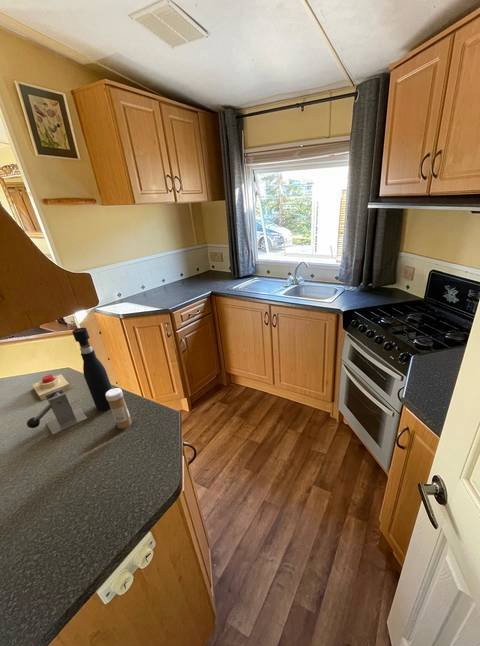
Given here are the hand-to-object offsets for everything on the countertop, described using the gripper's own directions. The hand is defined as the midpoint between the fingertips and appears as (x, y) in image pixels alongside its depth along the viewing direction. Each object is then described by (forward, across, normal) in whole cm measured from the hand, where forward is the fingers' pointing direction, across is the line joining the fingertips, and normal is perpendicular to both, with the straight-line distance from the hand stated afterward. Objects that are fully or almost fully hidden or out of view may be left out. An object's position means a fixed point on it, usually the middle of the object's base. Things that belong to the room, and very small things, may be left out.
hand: (8, 337), depth 106 cm
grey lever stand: (+23, +35, +4) cm, 42 cm away
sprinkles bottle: (+23, +51, +17) cm, 59 cm away
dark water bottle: (+23, +36, +16) cm, 46 cm away
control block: (+23, +6, +6) cm, 24 cm away
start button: (+19, +5, +6) cm, 21 cm away
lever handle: (+17, +35, +1) cm, 39 cm away
